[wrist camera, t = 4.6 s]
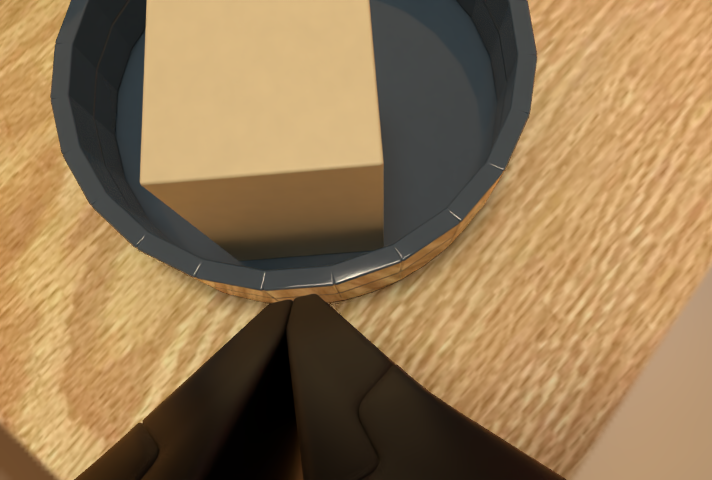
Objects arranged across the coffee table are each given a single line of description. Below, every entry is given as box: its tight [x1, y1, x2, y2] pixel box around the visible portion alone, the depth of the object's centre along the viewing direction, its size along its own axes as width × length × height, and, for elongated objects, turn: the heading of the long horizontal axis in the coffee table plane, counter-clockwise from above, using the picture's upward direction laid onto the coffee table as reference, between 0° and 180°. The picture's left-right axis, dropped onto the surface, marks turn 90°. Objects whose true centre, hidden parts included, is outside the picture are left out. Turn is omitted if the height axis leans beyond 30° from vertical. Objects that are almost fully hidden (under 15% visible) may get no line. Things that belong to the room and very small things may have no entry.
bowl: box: [50, 0, 537, 303], centre depth 18 cm, size 15×15×4 cm
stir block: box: [140, 0, 384, 261], centre depth 15 cm, size 5×5×8 cm
